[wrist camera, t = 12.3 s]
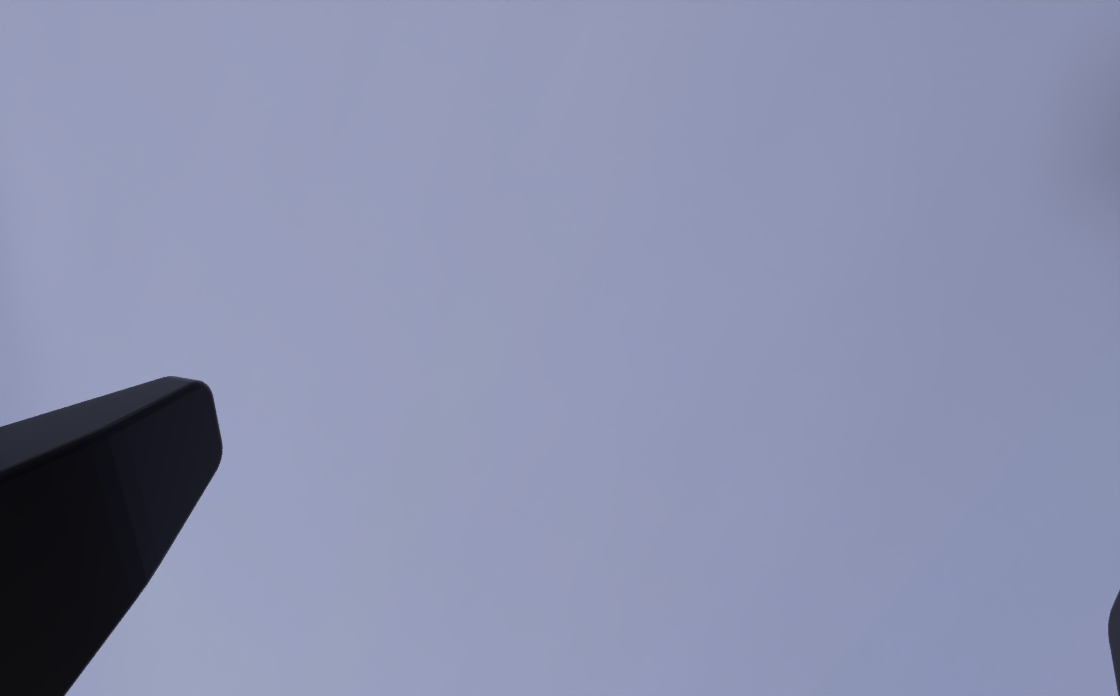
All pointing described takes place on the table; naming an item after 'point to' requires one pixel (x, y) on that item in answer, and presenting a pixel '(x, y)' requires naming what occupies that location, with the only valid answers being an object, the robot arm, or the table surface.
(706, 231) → the table surface
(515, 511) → the table surface
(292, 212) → the table surface
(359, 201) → the table surface
